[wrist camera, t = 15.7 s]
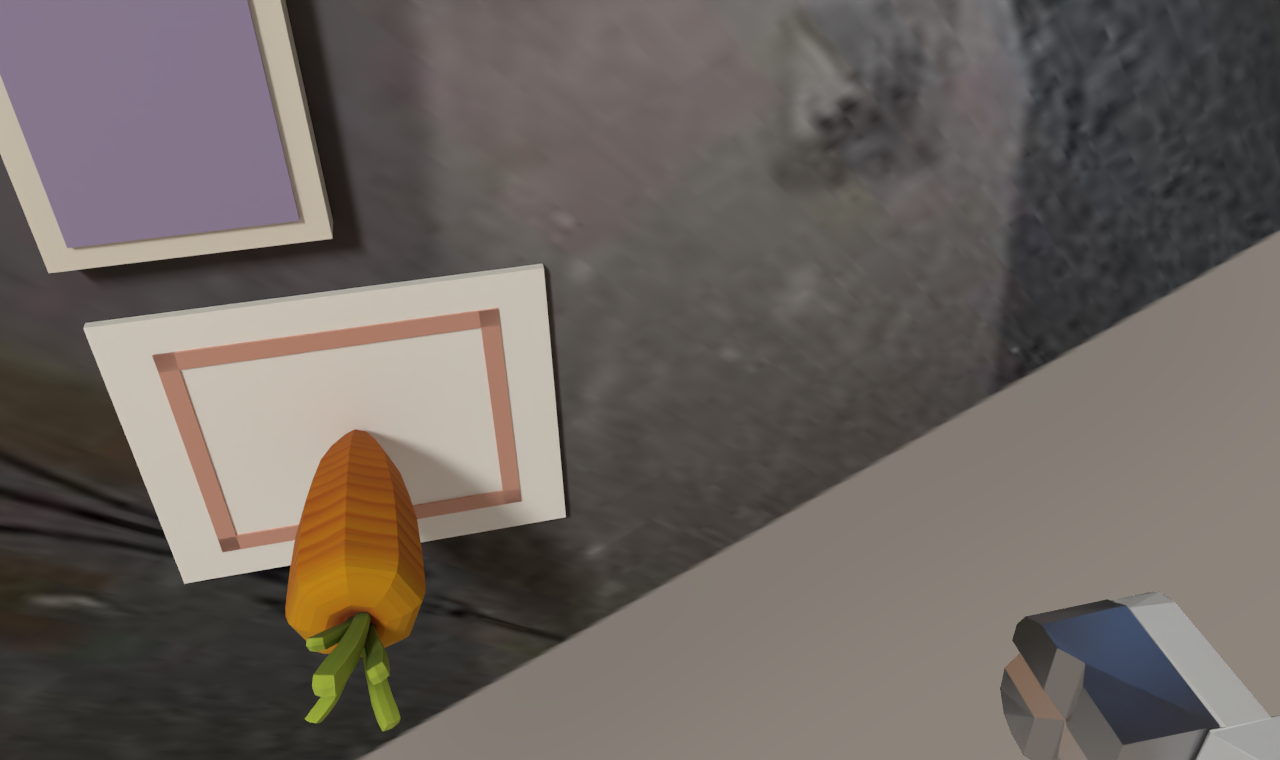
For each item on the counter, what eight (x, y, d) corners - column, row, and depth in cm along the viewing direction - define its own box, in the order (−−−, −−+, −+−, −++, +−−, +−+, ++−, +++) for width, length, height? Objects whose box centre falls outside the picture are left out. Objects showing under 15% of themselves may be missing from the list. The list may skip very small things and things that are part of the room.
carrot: (421, 469, 47) (442, 744, 35) (309, 485, 46) (291, 772, 34) (407, 380, 44) (423, 646, 32) (287, 395, 43) (258, 674, 31)
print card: (542, 263, 43) (544, 269, 42) (564, 512, 51) (566, 518, 50) (85, 323, 40) (82, 329, 39) (185, 577, 48) (184, 585, 47)
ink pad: (260, -117, 33) (255, -108, 31) (333, 221, 40) (332, 241, 38) (-80, -96, 31) (-100, -85, 30) (58, 254, 38) (47, 276, 37)
